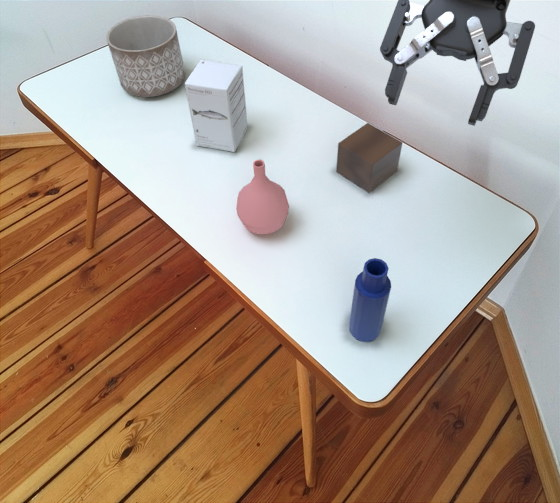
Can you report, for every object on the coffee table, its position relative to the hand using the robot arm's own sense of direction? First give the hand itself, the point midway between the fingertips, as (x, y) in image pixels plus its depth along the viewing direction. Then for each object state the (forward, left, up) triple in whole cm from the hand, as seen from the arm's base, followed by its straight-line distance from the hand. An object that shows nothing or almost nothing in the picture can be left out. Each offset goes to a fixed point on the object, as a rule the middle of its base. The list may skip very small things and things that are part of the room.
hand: (430, 113), depth 54 cm
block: (+10, -14, -24) cm, 30 cm away
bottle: (0, +13, -24) cm, 28 cm away
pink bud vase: (+20, +3, -24) cm, 32 cm away
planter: (+57, -21, -24) cm, 66 cm away
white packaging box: (+36, -12, -24) cm, 45 cm away
